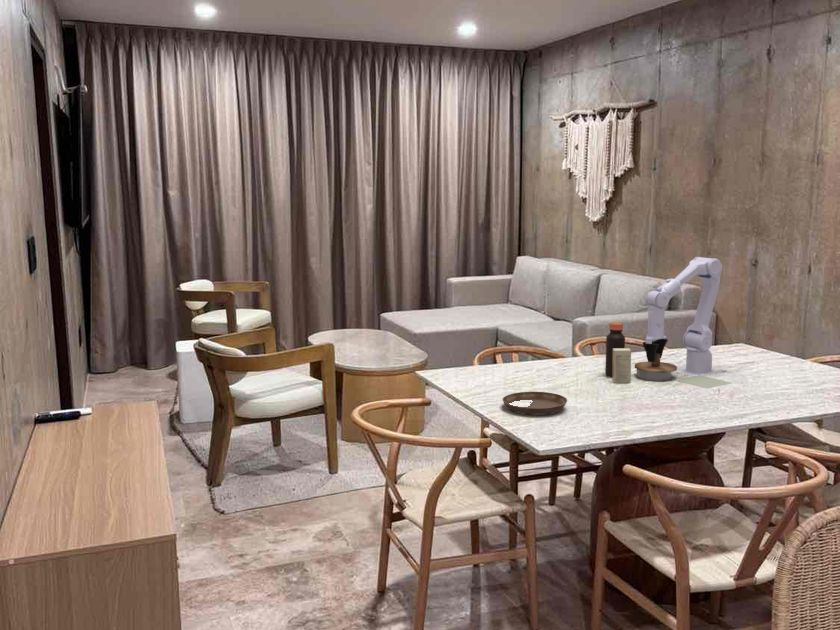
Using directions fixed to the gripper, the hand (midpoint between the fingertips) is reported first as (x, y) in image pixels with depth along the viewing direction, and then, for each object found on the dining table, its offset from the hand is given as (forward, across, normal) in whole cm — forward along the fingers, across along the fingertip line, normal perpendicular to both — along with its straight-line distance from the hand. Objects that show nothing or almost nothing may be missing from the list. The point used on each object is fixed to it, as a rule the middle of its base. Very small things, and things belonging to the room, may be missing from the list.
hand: (654, 359), depth 290 cm
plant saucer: (+8, -61, +18) cm, 64 cm away
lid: (+3, 0, 0) cm, 3 cm away
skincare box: (+7, -12, +8) cm, 16 cm away
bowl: (+7, 0, 0) cm, 7 cm away
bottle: (+7, -4, +14) cm, 16 cm away
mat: (+7, +3, -17) cm, 19 cm away
